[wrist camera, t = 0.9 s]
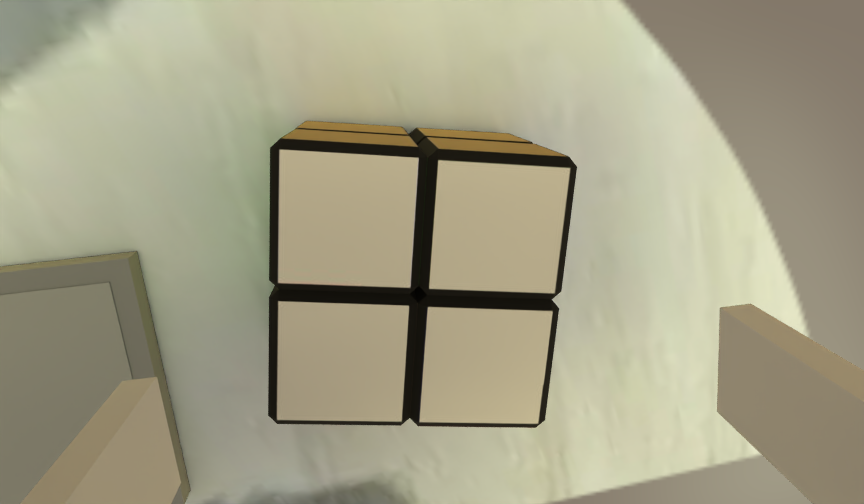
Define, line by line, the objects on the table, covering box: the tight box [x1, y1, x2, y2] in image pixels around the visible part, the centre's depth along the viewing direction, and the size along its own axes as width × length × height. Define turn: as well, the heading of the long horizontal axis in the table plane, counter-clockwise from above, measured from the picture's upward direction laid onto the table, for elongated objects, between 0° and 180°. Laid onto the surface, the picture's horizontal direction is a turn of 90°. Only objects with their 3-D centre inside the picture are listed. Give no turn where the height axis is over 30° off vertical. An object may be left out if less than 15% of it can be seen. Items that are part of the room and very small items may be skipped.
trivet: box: [0, 251, 190, 504], centre depth 31 cm, size 13×13×1 cm
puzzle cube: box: [268, 121, 577, 428], centre depth 26 cm, size 10×10×10 cm
